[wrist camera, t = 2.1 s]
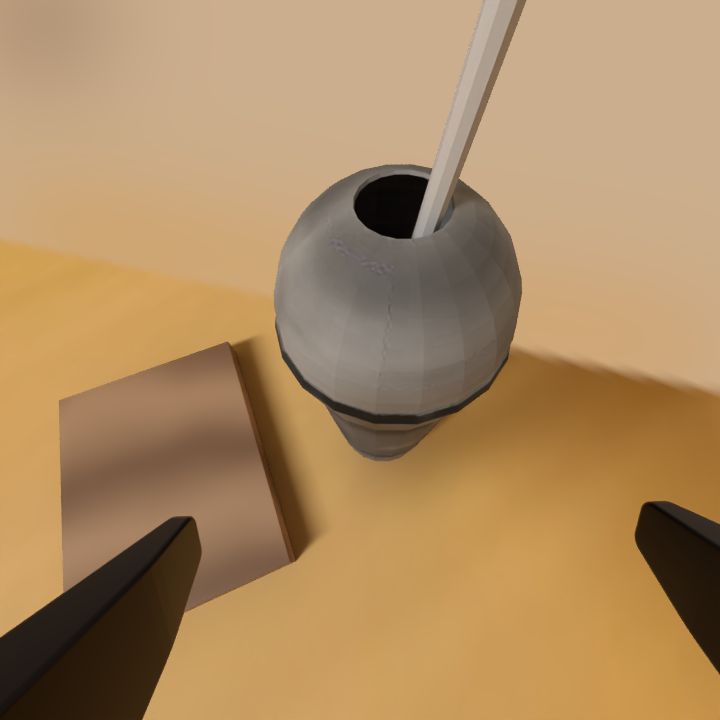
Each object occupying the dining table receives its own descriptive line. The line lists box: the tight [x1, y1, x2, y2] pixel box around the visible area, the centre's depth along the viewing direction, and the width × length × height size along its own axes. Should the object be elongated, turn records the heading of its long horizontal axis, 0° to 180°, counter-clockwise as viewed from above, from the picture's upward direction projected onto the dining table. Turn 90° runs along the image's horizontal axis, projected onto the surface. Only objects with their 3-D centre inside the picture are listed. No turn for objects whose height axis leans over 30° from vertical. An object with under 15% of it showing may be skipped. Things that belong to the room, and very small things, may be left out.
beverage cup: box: [274, 0, 526, 461], centre depth 12 cm, size 7×7×20 cm
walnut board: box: [59, 342, 296, 612], centre depth 19 cm, size 13×10×2 cm
